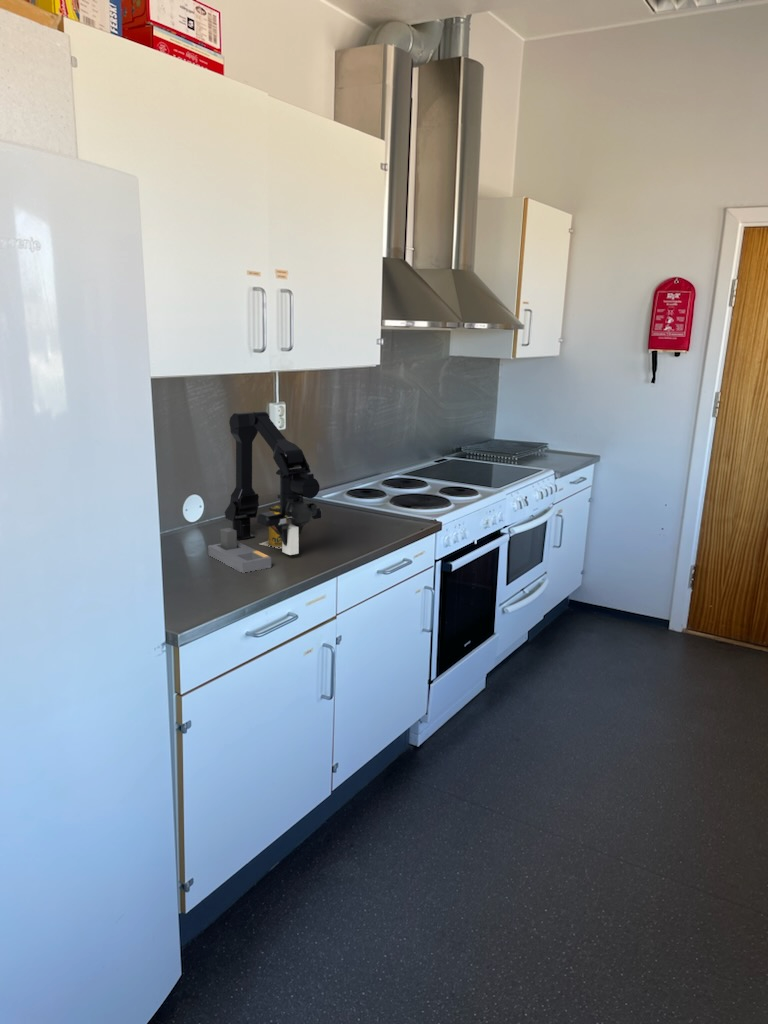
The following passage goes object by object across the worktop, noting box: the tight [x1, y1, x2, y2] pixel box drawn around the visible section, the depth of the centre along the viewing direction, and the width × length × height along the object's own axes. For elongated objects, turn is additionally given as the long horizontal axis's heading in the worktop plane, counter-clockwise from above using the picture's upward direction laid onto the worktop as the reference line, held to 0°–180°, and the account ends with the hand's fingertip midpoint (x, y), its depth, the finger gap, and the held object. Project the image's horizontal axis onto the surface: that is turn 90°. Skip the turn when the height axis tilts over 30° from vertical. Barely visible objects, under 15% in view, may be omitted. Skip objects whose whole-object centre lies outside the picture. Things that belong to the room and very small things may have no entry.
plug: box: [281, 523, 300, 556], centre depth 216 cm, size 4×3×8 cm
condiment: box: [259, 504, 289, 550], centre depth 228 cm, size 7×8×12 cm
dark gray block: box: [219, 527, 238, 550], centre depth 215 cm, size 4×3×8 cm
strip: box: [207, 540, 272, 574], centre depth 211 cm, size 20×9×3 cm, turn 40°
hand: (290, 544), depth 216 cm, fingers closed on plug, 3 cm apart
